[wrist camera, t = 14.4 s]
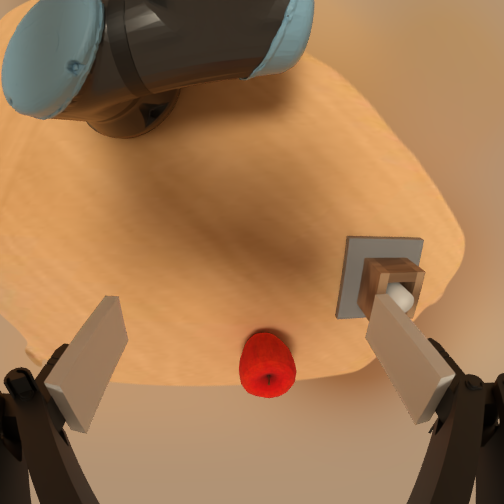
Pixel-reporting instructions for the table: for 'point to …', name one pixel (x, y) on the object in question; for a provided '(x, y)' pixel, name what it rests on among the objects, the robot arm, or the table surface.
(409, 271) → the frame
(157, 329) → the table surface
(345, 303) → the stand
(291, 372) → the apple
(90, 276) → the table surface
